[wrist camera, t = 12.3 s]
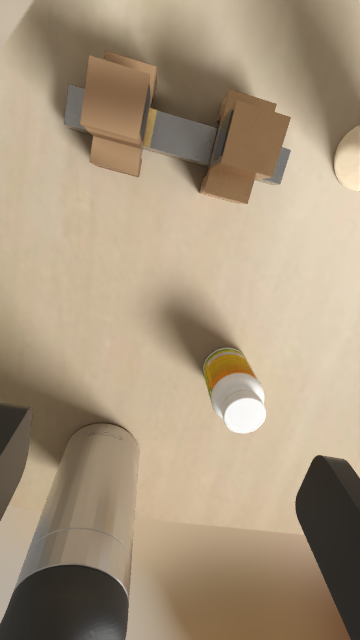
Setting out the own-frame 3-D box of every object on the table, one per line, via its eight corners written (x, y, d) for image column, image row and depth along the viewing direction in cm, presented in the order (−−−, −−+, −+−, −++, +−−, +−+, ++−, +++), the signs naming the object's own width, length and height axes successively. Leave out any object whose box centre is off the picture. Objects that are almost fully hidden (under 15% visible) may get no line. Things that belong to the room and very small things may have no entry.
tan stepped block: (139, 177, 33) (133, 170, 24) (97, 166, 32) (76, 154, 24) (157, 83, 30) (157, 38, 22) (111, 69, 30) (94, 17, 21)
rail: (265, 210, 35) (300, 214, 26) (65, 157, 32) (32, 142, 23) (292, 124, 32) (340, 97, 24) (78, 58, 29) (46, 1, 21)
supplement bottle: (194, 361, 40) (205, 409, 31) (233, 338, 39) (257, 380, 30) (216, 394, 42) (233, 449, 32) (255, 372, 41) (283, 422, 32)
